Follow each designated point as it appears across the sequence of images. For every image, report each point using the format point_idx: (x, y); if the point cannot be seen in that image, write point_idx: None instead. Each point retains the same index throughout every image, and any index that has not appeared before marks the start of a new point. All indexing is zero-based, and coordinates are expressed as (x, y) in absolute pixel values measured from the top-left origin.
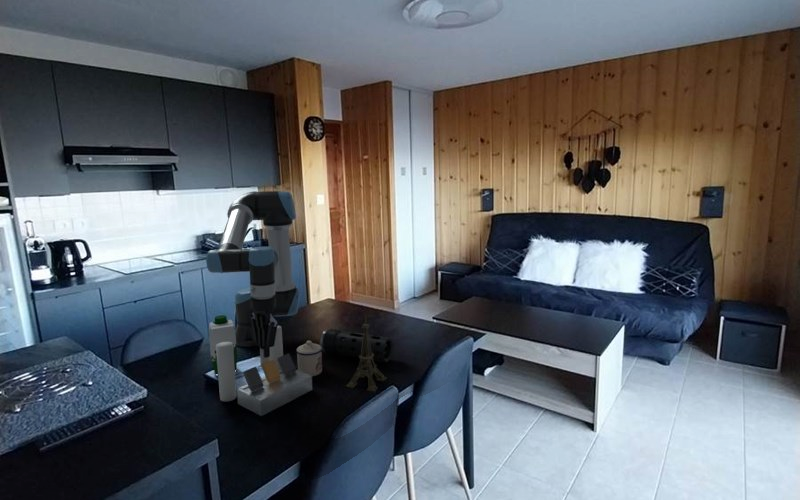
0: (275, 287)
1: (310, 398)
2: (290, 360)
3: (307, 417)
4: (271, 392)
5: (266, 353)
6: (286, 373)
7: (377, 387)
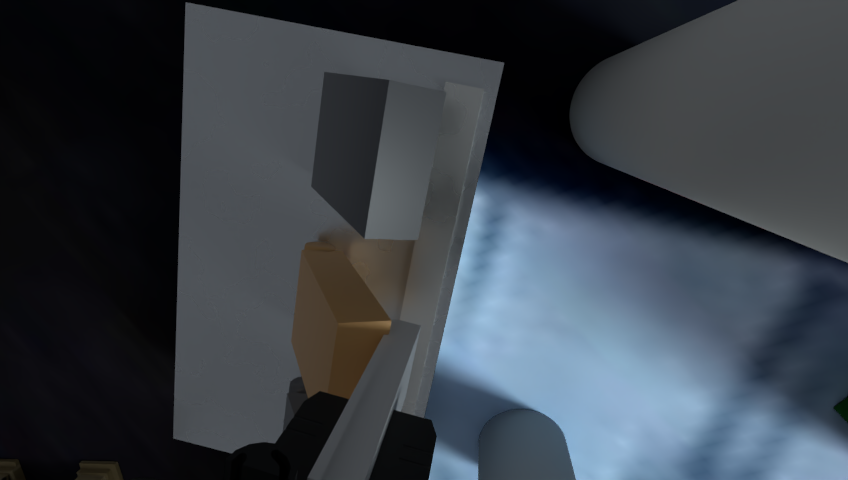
0: None
1: (171, 305)
2: None
3: (40, 139)
4: (215, 144)
5: (285, 436)
6: (290, 390)
7: None
